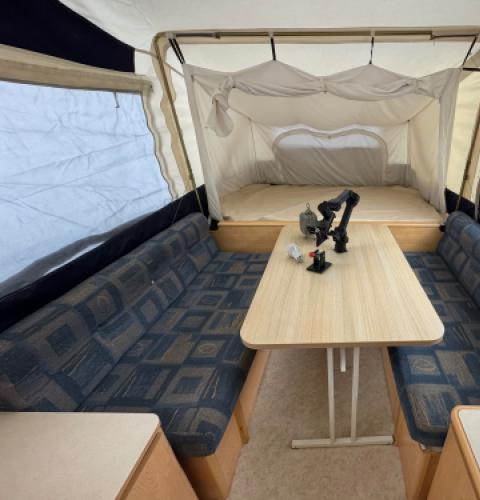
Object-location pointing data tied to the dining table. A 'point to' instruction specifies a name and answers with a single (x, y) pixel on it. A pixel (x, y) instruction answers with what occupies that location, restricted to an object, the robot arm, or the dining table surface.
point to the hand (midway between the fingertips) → (316, 246)
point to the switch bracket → (319, 263)
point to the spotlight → (294, 252)
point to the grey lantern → (307, 221)
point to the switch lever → (314, 254)
